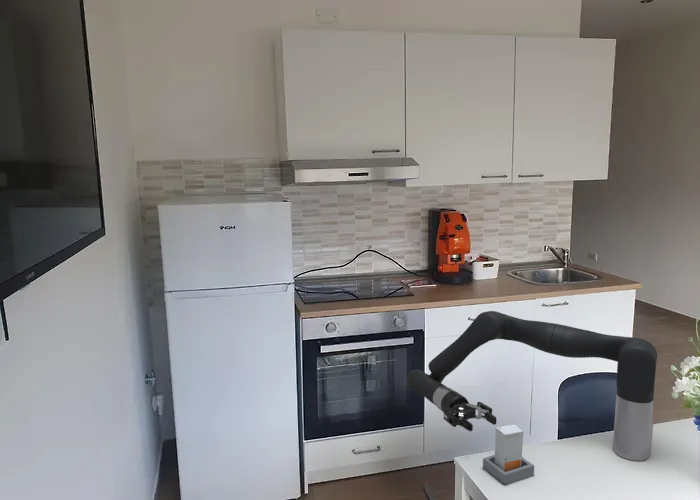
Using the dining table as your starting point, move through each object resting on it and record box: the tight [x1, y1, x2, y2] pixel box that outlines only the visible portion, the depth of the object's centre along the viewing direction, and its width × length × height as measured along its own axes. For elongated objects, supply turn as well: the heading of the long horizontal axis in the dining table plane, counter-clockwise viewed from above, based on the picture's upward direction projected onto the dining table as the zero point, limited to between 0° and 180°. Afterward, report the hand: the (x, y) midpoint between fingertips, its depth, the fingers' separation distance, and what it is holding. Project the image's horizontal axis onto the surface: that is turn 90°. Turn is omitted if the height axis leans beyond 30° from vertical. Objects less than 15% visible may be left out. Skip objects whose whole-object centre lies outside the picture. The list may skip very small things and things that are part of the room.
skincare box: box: [494, 424, 524, 472], centre depth 142 cm, size 6×4×12 cm
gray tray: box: [482, 454, 535, 486], centre depth 143 cm, size 10×9×3 cm
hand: (483, 424), depth 150 cm, fingers open, 8 cm apart
